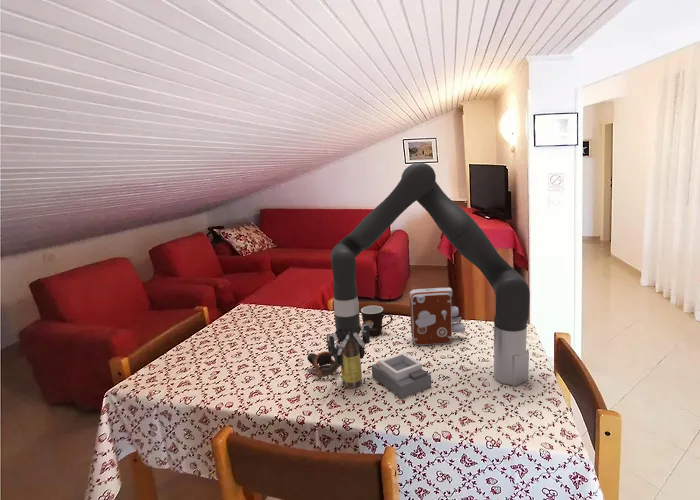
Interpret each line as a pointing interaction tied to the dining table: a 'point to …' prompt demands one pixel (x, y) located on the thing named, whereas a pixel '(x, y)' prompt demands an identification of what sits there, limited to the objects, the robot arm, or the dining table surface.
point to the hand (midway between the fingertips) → (350, 360)
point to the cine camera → (433, 316)
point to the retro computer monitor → (401, 375)
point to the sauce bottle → (351, 362)
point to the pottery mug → (323, 363)
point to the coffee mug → (374, 319)
